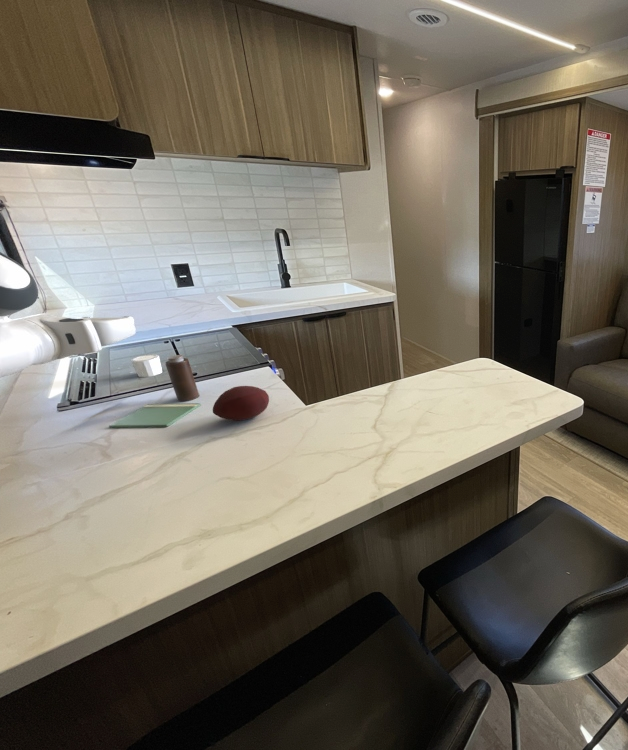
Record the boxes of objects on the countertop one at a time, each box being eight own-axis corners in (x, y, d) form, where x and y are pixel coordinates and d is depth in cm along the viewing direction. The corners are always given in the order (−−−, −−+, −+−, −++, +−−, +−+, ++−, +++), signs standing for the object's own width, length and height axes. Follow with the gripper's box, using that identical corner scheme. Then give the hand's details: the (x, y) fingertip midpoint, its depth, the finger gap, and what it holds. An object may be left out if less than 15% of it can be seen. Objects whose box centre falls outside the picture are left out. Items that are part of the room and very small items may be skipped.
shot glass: (161, 372, 131) (154, 352, 129) (169, 377, 128) (162, 356, 125) (135, 379, 126) (127, 358, 124) (142, 384, 123) (134, 362, 120)
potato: (282, 410, 105) (275, 381, 102) (248, 431, 95) (239, 399, 92) (245, 406, 108) (237, 377, 104) (208, 426, 97) (199, 395, 94)
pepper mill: (173, 401, 111) (158, 360, 106) (186, 394, 115) (172, 354, 111) (191, 401, 111) (177, 359, 106) (203, 393, 116) (191, 353, 111)
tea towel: (109, 427, 97) (108, 425, 97) (149, 405, 108) (148, 403, 108) (167, 426, 97) (166, 424, 97) (201, 405, 109) (200, 402, 108)
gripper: (-1, 353, 79) (69, 334, 92) (104, 352, 79) (159, 333, 92) (-17, 322, 76) (57, 306, 89) (91, 321, 77) (149, 305, 89)
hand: (109, 320), depth 90 cm, fingers open, 8 cm apart
